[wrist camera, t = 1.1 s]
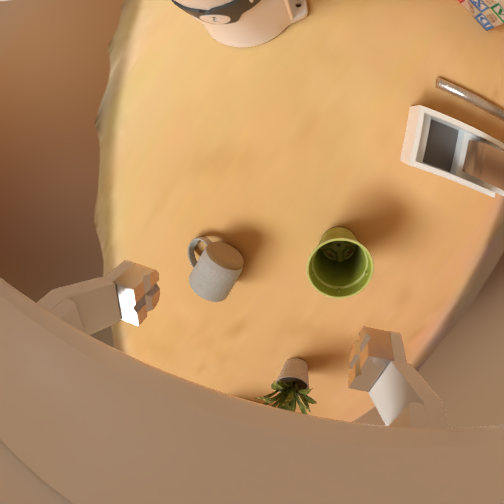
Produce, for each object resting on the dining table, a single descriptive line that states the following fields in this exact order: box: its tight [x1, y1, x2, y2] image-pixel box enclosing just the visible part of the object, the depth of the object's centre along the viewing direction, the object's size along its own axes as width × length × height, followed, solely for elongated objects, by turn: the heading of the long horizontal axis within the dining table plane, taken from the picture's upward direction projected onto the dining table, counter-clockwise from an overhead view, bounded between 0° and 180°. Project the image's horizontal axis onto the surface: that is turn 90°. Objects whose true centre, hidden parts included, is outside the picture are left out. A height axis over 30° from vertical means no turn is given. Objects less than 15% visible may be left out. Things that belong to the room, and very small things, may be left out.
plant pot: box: [307, 227, 374, 298], centre depth 41 cm, size 9×9×9 cm
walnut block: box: [462, 140, 504, 191], centre depth 27 cm, size 5×5×6 cm
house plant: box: [256, 358, 317, 415], centre depth 52 cm, size 14×14×16 cm
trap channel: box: [400, 105, 504, 198], centre depth 30 cm, size 9×24×5 cm, turn 83°
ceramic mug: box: [188, 237, 244, 302], centre depth 48 cm, size 11×8×8 cm
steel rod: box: [436, 77, 504, 121], centre depth 27 cm, size 14×2×2 cm
